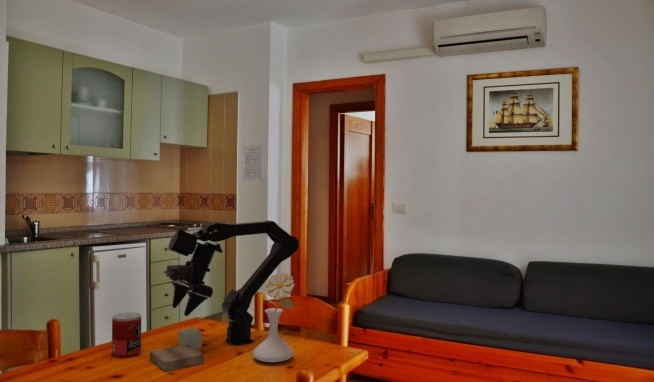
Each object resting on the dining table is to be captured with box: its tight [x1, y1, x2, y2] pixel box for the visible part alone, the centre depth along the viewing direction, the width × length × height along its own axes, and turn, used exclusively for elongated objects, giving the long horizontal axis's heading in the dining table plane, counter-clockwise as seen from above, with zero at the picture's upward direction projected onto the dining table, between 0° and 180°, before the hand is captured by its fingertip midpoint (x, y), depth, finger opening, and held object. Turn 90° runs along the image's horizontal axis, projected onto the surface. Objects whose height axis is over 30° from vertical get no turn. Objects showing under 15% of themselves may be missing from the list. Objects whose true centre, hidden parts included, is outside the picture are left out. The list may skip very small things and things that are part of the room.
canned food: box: [111, 311, 142, 359], centre depth 147 cm, size 8×8×11 cm
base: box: [149, 344, 205, 373], centre depth 141 cm, size 11×11×2 cm
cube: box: [178, 327, 202, 350], centre depth 154 cm, size 5×5×5 cm
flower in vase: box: [252, 271, 295, 363], centre depth 144 cm, size 13×11×25 cm
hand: (179, 311), depth 151 cm, fingers open, 9 cm apart
